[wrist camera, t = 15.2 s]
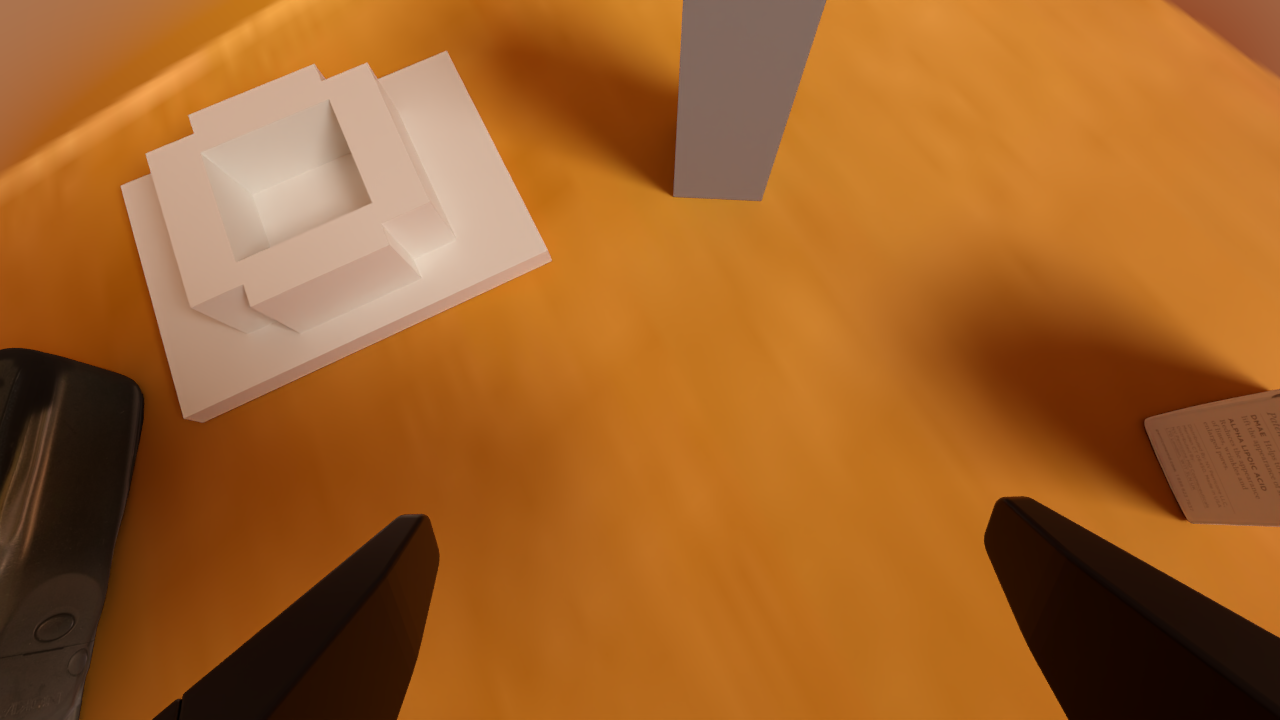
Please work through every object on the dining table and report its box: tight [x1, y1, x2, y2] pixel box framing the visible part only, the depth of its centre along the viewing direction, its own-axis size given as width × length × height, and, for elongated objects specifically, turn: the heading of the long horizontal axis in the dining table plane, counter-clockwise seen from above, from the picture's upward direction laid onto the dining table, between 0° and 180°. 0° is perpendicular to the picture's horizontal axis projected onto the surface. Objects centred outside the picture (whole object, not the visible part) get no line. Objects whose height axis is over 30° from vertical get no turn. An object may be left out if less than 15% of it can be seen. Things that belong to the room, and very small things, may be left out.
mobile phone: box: [0, 348, 144, 720], centre depth 20 cm, size 5×3×15 cm
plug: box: [673, 0, 826, 201], centre depth 20 cm, size 4×4×13 cm
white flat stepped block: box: [121, 51, 552, 423], centre depth 24 cm, size 16×12×4 cm
